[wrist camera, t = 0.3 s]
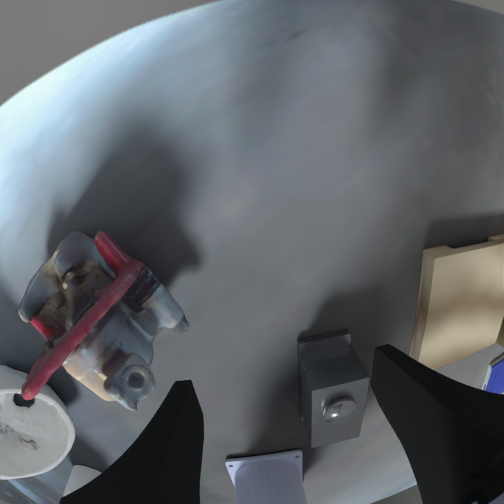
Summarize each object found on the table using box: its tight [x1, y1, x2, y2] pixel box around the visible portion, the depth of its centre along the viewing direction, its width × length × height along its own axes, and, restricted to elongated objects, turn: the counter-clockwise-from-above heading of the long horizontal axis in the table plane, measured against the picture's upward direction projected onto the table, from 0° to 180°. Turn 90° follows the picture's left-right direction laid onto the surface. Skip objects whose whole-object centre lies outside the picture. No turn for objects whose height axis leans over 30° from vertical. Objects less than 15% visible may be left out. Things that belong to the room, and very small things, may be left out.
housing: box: [297, 329, 370, 448], centre depth 21 cm, size 9×4×5 cm, turn 7°
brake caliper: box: [18, 231, 189, 411], centre depth 16 cm, size 11×11×12 cm
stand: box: [409, 234, 504, 370], centre depth 21 cm, size 11×11×2 cm
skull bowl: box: [0, 365, 75, 479], centre depth 19 cm, size 10×14×12 cm
